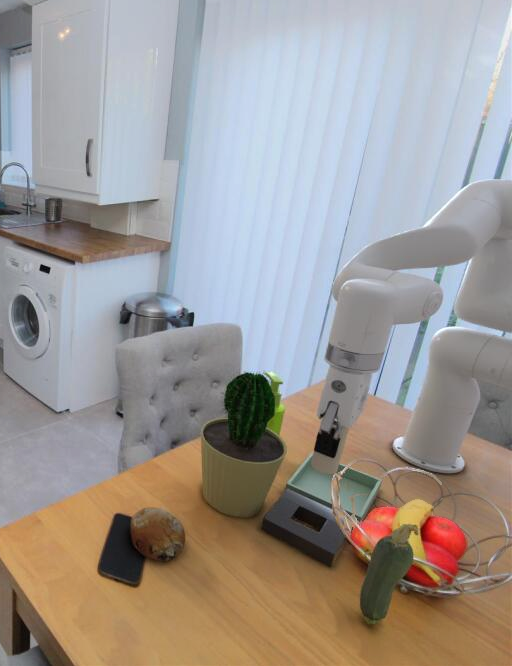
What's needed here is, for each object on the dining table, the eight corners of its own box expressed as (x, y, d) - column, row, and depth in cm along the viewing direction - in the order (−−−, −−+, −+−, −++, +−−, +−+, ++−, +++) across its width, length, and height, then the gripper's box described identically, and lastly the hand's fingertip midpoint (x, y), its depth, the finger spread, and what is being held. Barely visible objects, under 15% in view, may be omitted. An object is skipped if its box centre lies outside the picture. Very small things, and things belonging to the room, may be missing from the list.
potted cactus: (277, 489, 102) (306, 363, 91) (267, 537, 91) (299, 399, 79) (201, 464, 111) (220, 346, 99) (183, 505, 99) (202, 377, 88)
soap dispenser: (266, 442, 117) (282, 370, 110) (279, 460, 111) (296, 385, 104) (241, 442, 118) (255, 369, 111) (252, 459, 112) (267, 384, 104)
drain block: (284, 499, 100) (287, 488, 98) (351, 531, 91) (355, 519, 90) (260, 529, 92) (263, 517, 91) (331, 567, 84) (334, 554, 83)
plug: (315, 457, 89) (326, 413, 85) (340, 467, 86) (352, 422, 83) (307, 467, 87) (318, 422, 83) (332, 477, 84) (345, 432, 80)
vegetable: (346, 606, 77) (379, 509, 70) (371, 603, 78) (407, 506, 70) (368, 632, 73) (405, 532, 66) (395, 629, 74) (435, 529, 66)
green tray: (308, 462, 110) (311, 451, 109) (378, 491, 101) (382, 479, 100) (283, 494, 101) (286, 483, 100) (357, 529, 92) (361, 517, 91)
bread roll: (181, 549, 93) (185, 507, 93) (185, 571, 83) (189, 524, 84) (129, 537, 96) (133, 497, 96) (126, 557, 86) (131, 512, 87)
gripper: (366, 380, 70) (338, 481, 77) (394, 345, 80) (367, 437, 87) (309, 364, 76) (287, 459, 82) (342, 333, 86) (320, 420, 93)
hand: (329, 447), depth 85 cm, fingers closed on plug, 4 cm apart
